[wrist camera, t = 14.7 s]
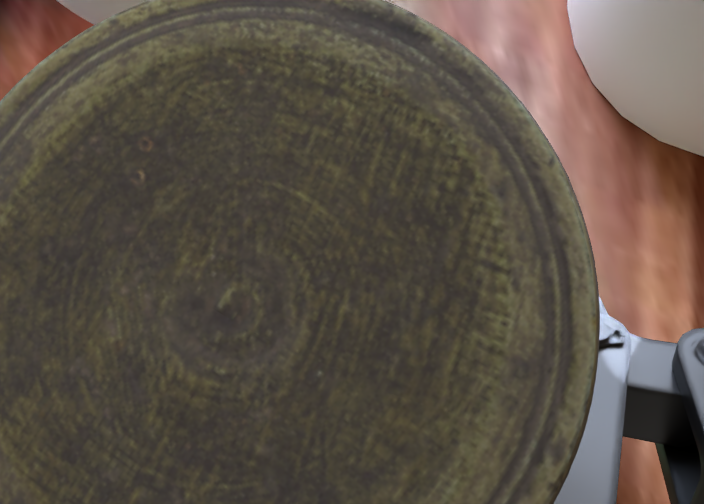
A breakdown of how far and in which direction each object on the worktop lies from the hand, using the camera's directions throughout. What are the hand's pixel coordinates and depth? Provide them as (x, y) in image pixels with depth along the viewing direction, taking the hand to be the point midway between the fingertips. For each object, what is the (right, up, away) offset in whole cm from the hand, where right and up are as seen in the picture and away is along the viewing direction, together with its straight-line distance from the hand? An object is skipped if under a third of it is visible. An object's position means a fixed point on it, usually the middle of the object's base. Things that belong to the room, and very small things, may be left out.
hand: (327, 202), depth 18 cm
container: (+1, -4, +7) cm, 8 cm away
